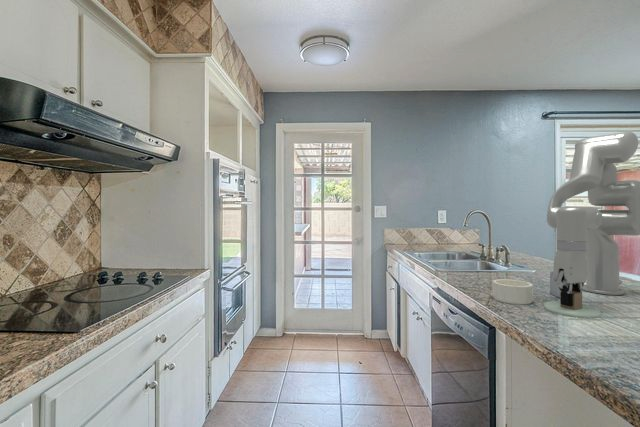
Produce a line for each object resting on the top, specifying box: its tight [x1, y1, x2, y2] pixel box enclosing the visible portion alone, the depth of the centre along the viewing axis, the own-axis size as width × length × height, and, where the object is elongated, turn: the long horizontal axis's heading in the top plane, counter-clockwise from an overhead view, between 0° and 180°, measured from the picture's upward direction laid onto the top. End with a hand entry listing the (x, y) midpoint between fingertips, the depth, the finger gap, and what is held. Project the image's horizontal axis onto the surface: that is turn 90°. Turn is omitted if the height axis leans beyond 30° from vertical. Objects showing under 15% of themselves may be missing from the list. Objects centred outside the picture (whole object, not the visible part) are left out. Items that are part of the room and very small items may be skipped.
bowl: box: [492, 278, 534, 306], centre depth 113 cm, size 12×12×6 cm
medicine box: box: [549, 271, 575, 299], centre depth 116 cm, size 8×4×9 cm, turn 168°
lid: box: [543, 291, 602, 319], centre depth 100 cm, size 14×14×6 cm
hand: (571, 303), depth 100 cm, fingers closed on lid, 4 cm apart
